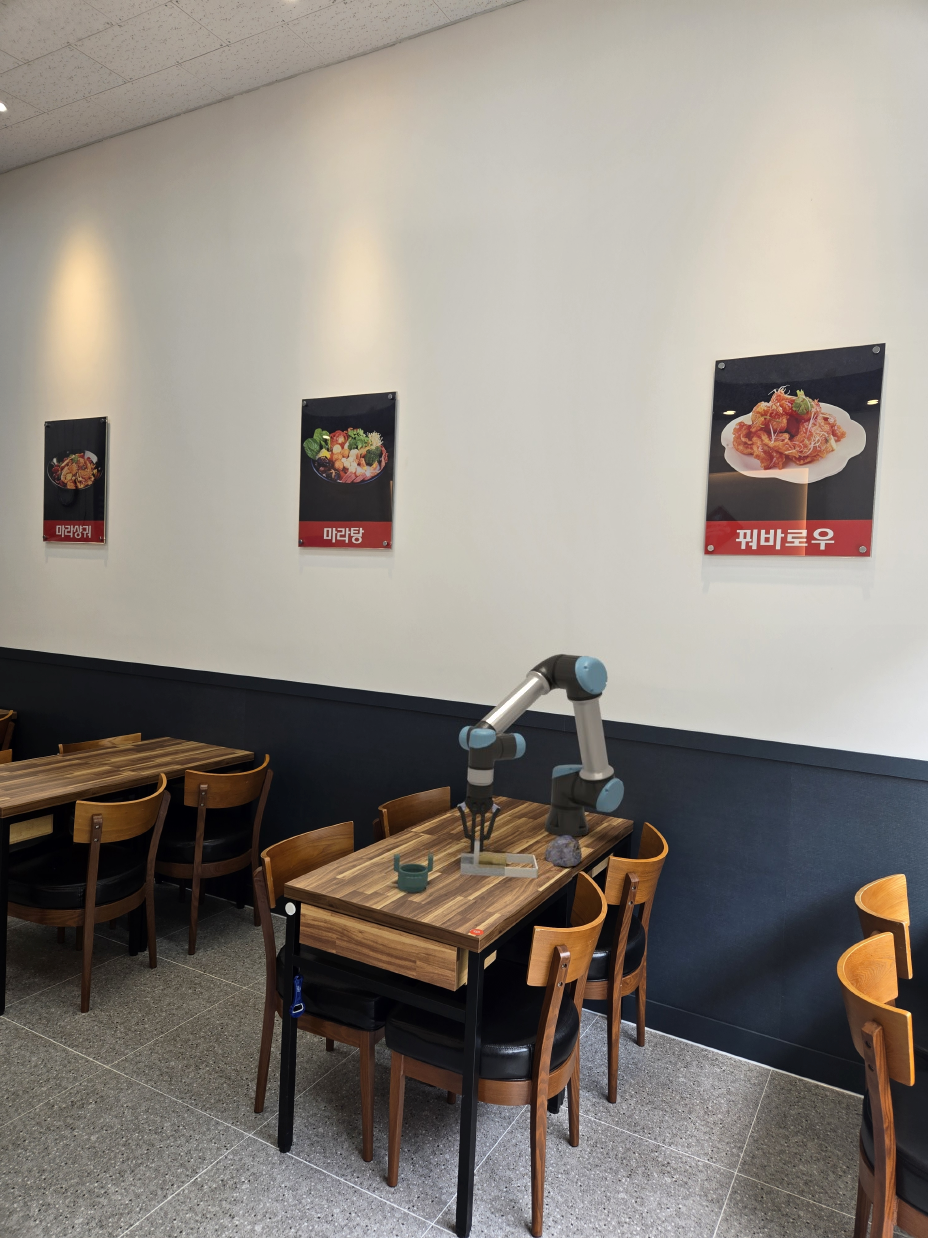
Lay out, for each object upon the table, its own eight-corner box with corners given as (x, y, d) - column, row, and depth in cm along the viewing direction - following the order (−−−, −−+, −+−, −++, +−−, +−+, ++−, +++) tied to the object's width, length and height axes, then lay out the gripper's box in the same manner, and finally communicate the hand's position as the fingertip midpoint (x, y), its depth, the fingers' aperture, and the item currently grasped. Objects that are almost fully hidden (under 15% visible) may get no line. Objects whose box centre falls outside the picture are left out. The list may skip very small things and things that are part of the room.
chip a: (505, 867, 230) (506, 853, 230) (505, 871, 226) (506, 858, 226) (491, 866, 230) (492, 853, 230) (492, 871, 226) (492, 857, 226)
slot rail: (502, 865, 235) (502, 855, 235) (504, 880, 222) (504, 869, 222) (460, 863, 235) (461, 853, 235) (460, 877, 222) (460, 867, 222)
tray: (533, 866, 235) (534, 855, 235) (537, 881, 222) (538, 869, 222) (502, 865, 235) (502, 853, 235) (504, 880, 222) (504, 867, 222)
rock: (585, 852, 243) (576, 827, 239) (579, 876, 235) (570, 851, 231) (553, 853, 248) (544, 828, 244) (545, 877, 239) (536, 852, 235)
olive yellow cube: (491, 865, 230) (492, 852, 230) (492, 870, 226) (492, 856, 226) (478, 865, 231) (478, 851, 230) (478, 869, 227) (478, 855, 226)
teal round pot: (389, 886, 212) (391, 854, 212) (414, 879, 219) (415, 847, 219) (412, 896, 206) (413, 863, 206) (436, 888, 213) (438, 855, 212)
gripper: (501, 780, 232) (497, 860, 232) (458, 778, 232) (454, 857, 232) (502, 786, 224) (498, 868, 224) (457, 784, 224) (453, 865, 224)
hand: (476, 862), depth 228 cm, fingers closed
